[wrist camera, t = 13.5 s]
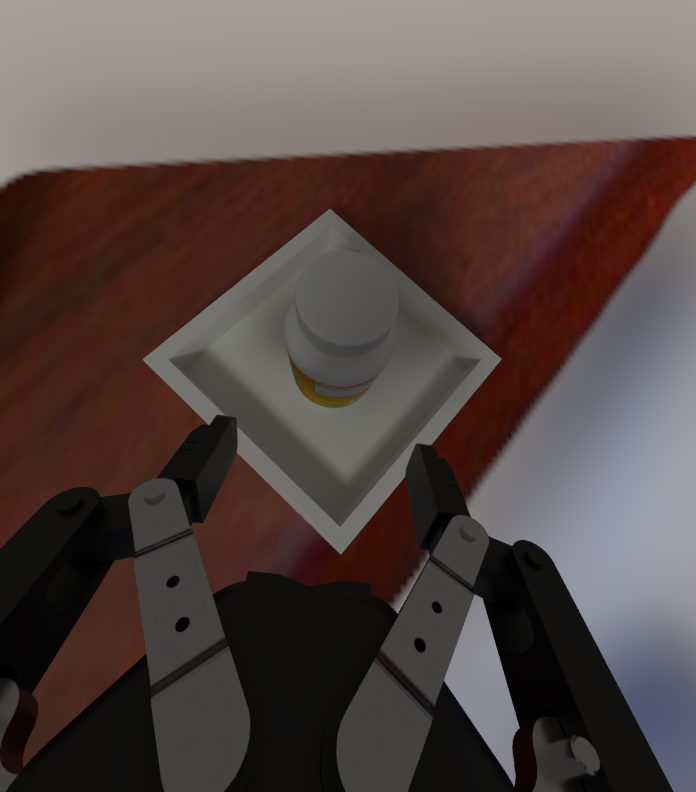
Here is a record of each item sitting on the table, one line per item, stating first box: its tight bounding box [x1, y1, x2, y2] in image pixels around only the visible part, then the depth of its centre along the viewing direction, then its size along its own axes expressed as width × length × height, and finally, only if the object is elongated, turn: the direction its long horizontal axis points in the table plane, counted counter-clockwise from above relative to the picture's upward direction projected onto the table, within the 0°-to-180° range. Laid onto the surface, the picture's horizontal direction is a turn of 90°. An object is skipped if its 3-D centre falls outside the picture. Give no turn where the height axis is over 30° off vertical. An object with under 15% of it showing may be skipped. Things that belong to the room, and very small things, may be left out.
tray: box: [143, 209, 501, 554], centre depth 20 cm, size 16×16×3 cm
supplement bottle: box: [284, 251, 399, 408], centre depth 16 cm, size 5×5×10 cm
